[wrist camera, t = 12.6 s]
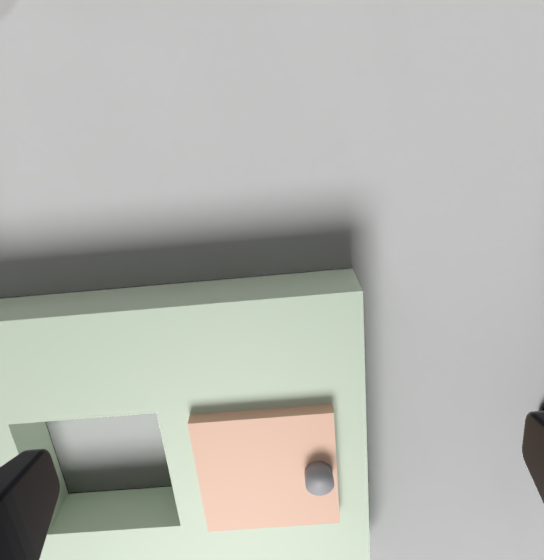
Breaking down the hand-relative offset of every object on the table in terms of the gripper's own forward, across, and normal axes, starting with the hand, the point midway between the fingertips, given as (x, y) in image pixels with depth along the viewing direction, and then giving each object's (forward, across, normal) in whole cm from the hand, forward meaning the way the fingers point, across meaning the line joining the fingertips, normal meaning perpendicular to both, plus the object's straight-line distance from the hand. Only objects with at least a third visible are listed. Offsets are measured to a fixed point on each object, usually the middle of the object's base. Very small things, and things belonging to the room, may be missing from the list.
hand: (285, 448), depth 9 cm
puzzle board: (+12, +5, +9) cm, 16 cm away
